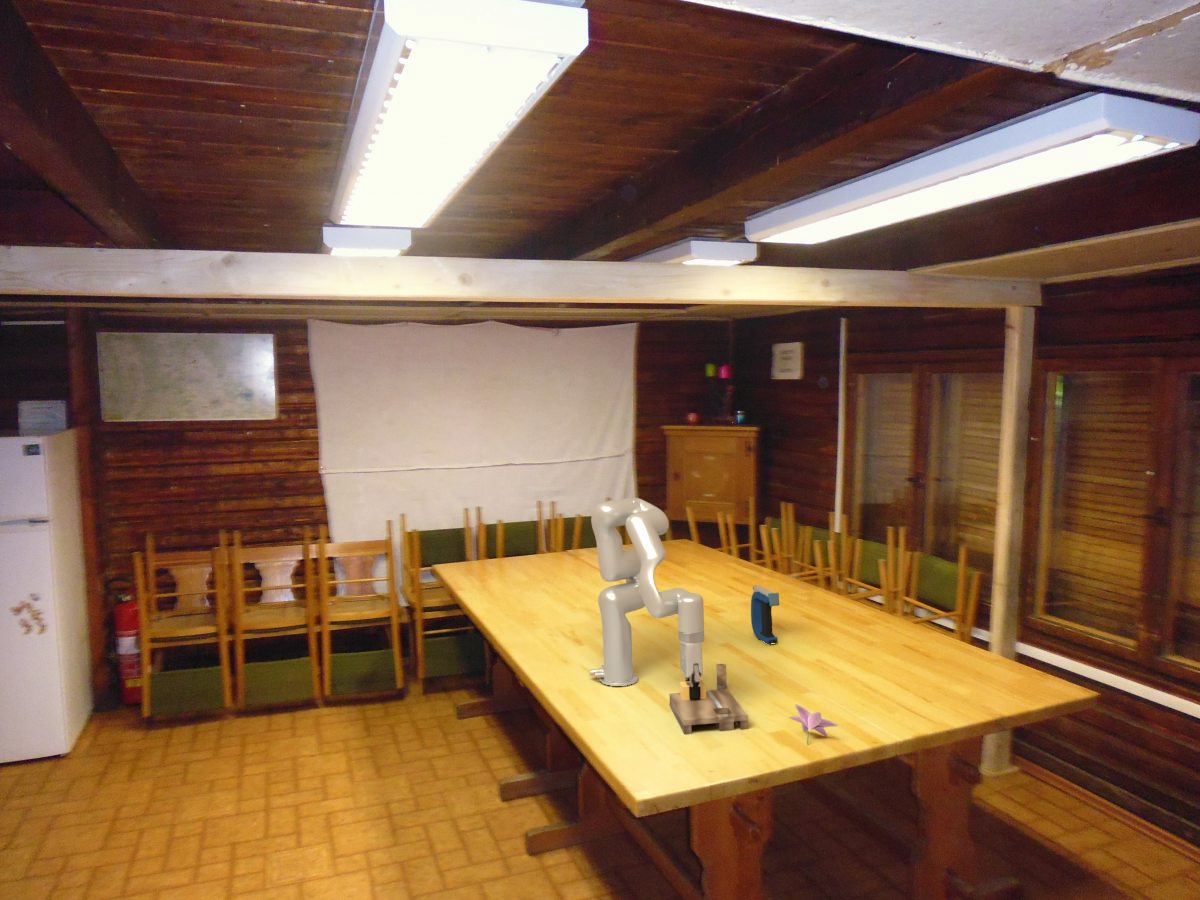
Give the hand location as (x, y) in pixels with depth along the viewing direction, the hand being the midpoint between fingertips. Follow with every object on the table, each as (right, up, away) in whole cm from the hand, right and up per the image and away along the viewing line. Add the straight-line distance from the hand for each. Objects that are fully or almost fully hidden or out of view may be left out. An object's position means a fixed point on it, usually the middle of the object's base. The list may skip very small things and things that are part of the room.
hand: (693, 695), depth 241 cm
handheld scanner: (+35, +1, +64) cm, 72 cm away
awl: (+11, -3, +13) cm, 17 cm away
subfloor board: (+4, -5, -5) cm, 8 cm away
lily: (+30, -5, -22) cm, 37 cm away
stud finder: (0, 0, 0) cm, 0 cm away
